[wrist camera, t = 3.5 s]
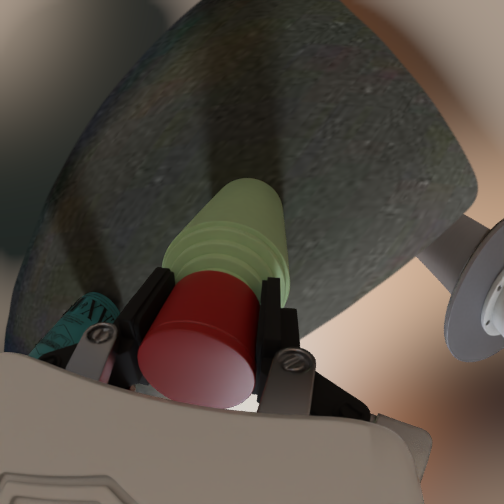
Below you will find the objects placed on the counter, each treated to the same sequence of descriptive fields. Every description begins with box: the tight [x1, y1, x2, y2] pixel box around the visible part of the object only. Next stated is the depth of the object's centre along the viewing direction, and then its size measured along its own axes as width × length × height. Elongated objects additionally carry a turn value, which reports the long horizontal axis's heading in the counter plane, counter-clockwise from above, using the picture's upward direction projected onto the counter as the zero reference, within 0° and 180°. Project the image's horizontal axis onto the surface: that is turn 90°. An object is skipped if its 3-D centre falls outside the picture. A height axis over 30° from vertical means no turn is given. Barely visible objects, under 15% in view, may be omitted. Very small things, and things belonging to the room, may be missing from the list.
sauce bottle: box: [162, 178, 290, 308], centre depth 17 cm, size 6×6×18 cm
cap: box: [137, 270, 260, 409], centre depth 10 cm, size 4×4×4 cm
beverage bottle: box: [28, 292, 120, 359], centre depth 22 cm, size 6×7×20 cm
